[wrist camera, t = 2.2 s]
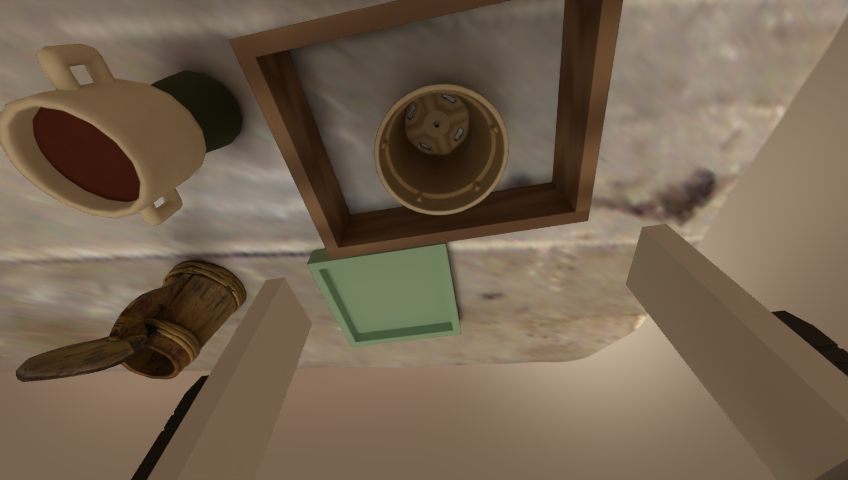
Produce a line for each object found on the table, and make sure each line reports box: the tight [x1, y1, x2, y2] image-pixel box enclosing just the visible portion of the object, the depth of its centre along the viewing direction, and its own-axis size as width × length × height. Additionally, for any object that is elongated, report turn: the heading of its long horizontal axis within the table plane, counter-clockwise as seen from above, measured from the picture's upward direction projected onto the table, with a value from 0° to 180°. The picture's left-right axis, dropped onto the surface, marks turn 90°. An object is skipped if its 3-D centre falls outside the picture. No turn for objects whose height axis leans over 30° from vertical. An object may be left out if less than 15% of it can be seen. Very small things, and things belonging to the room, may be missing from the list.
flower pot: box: [374, 84, 509, 215], centre depth 25 cm, size 9×9×9 cm
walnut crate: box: [229, 0, 623, 259], centre depth 26 cm, size 18×24×6 cm
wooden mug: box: [16, 262, 246, 382], centre depth 32 cm, size 9×14×18 cm, turn 174°
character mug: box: [0, 44, 242, 226], centre depth 22 cm, size 11×7×13 cm, turn 2°
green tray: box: [307, 242, 461, 347], centre depth 40 cm, size 16×16×2 cm
